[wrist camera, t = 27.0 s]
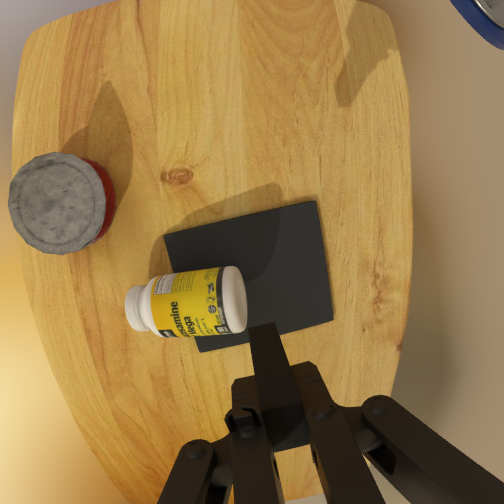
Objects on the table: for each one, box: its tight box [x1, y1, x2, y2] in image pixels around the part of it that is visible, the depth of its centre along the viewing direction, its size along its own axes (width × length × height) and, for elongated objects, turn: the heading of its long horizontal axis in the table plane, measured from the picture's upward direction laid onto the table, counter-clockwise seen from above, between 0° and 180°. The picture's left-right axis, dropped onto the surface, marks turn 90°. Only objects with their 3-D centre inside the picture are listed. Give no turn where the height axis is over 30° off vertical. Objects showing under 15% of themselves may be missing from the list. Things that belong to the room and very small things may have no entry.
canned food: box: [8, 152, 116, 255], centre depth 25 cm, size 11×10×10 cm
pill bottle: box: [125, 266, 247, 337], centre depth 28 cm, size 6×6×11 cm
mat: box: [164, 200, 334, 353], centre depth 32 cm, size 16×14×1 cm
